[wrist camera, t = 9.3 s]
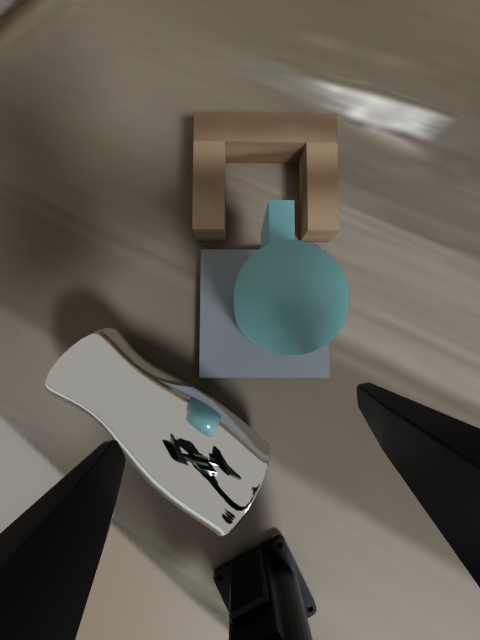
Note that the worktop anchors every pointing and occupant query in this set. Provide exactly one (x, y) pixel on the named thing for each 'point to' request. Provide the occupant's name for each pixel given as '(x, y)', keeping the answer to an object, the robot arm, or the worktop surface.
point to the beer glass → (165, 428)
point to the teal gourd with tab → (289, 289)
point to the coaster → (224, 337)
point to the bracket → (266, 147)
